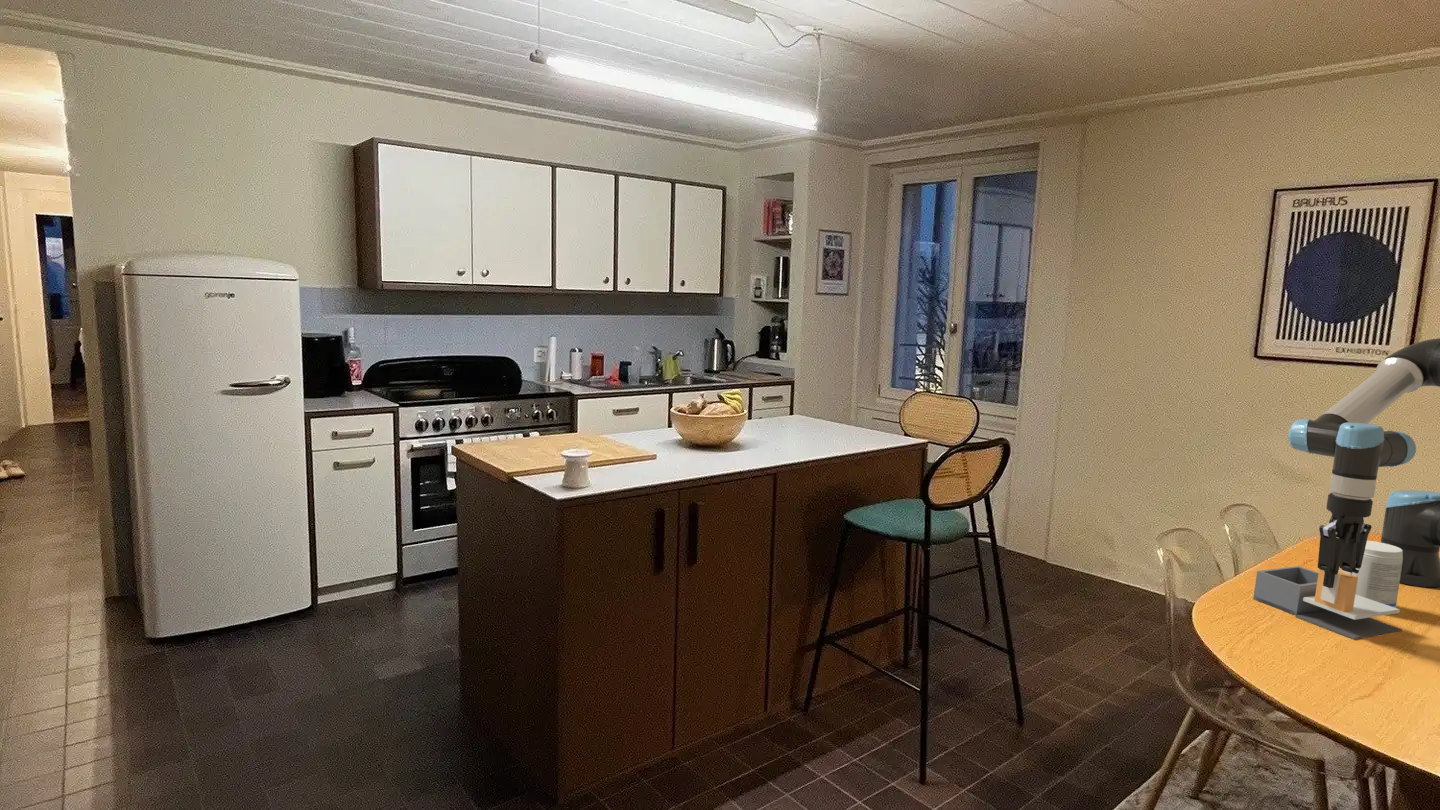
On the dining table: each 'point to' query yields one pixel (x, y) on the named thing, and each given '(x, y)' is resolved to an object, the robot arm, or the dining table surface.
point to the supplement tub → (1380, 573)
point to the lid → (1349, 600)
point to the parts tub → (1287, 589)
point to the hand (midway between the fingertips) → (1334, 600)
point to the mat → (1348, 624)
